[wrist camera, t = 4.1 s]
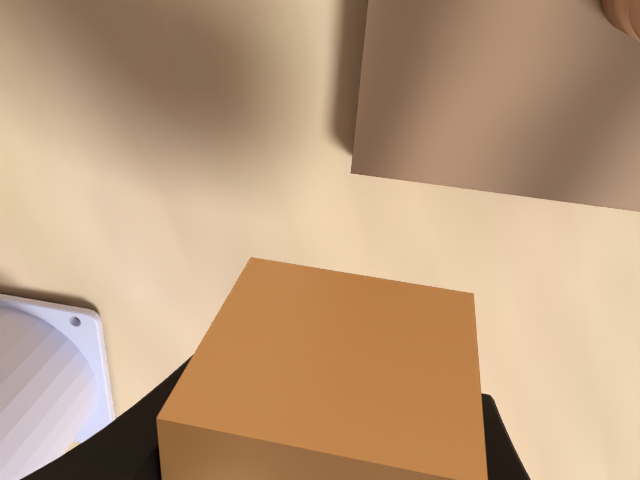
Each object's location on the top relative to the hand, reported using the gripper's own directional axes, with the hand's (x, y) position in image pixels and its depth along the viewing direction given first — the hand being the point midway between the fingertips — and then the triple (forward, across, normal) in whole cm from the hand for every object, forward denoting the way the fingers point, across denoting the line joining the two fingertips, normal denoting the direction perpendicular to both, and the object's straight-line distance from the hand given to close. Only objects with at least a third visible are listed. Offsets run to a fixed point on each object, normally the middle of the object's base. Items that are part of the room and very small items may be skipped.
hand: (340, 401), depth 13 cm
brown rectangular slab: (+9, -6, -8) cm, 13 cm away
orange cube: (+1, 0, 0) cm, 1 cm away
